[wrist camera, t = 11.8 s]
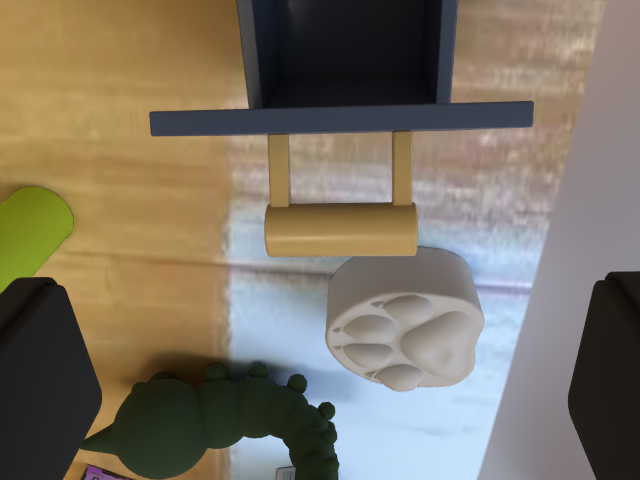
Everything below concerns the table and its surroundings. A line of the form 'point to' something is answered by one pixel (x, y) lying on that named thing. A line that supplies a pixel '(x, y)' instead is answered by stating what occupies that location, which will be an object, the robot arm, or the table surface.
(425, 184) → the table surface
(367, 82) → the chest
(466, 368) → the lumpy-topped squat cylinder
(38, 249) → the soap dispenser
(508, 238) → the table surface
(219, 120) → the lid
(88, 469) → the candy box
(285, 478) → the coffee box
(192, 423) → the toy figurine
